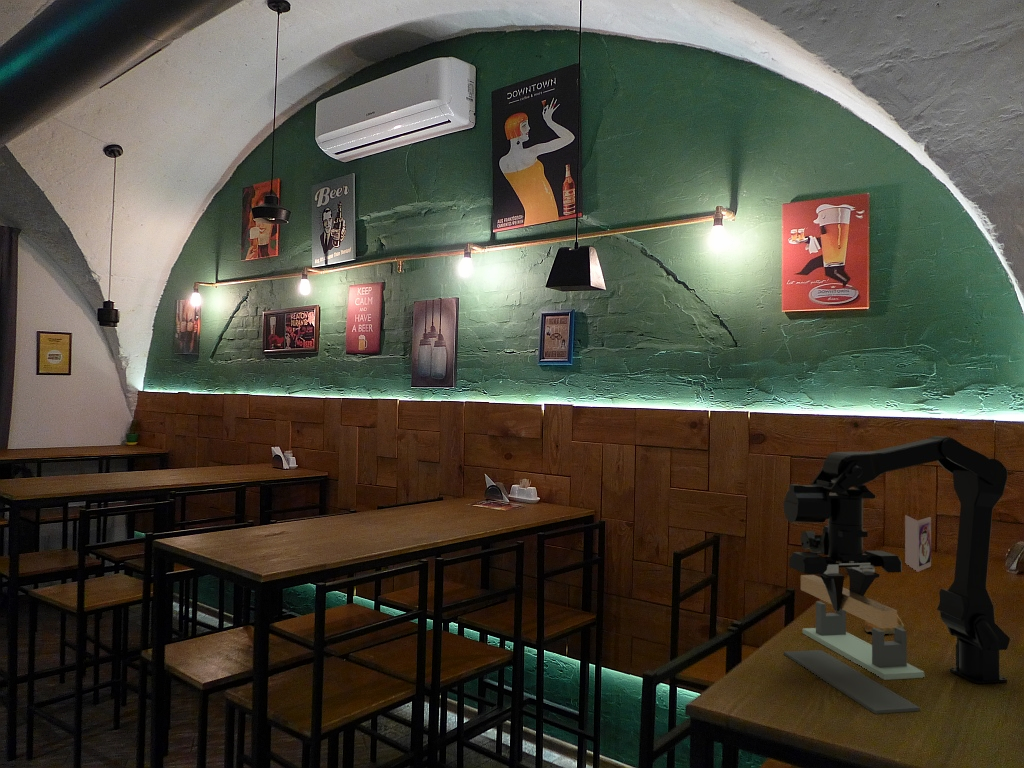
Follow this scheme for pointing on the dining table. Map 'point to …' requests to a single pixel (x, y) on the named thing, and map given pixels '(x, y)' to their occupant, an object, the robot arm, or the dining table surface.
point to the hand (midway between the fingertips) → (844, 610)
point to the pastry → (886, 630)
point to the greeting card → (918, 543)
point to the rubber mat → (852, 682)
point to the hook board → (864, 646)
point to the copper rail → (853, 603)
